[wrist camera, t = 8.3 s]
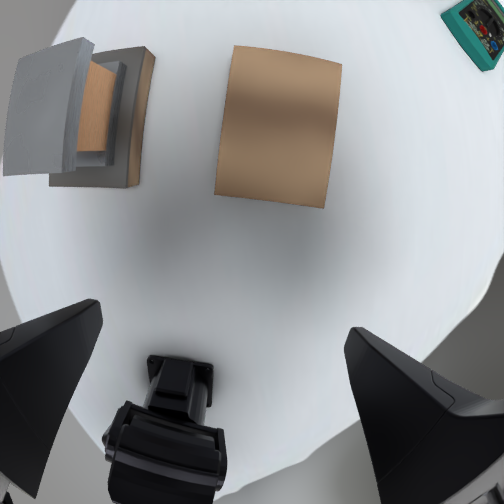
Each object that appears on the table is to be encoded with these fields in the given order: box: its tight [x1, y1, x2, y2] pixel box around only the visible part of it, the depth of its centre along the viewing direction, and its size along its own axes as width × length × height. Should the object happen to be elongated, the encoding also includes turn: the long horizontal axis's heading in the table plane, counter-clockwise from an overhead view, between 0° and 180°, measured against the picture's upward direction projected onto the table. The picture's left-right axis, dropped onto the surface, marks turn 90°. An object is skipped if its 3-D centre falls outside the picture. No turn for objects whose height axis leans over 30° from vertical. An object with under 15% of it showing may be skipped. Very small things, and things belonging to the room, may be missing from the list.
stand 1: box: [49, 46, 155, 188], centre depth 16 cm, size 10×7×2 cm
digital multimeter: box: [441, 0, 504, 71], centre depth 12 cm, size 7×15×3 cm, turn 137°
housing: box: [3, 37, 127, 176], centre depth 12 cm, size 7×5×6 cm
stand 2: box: [214, 45, 342, 209], centre depth 17 cm, size 10×7×2 cm
